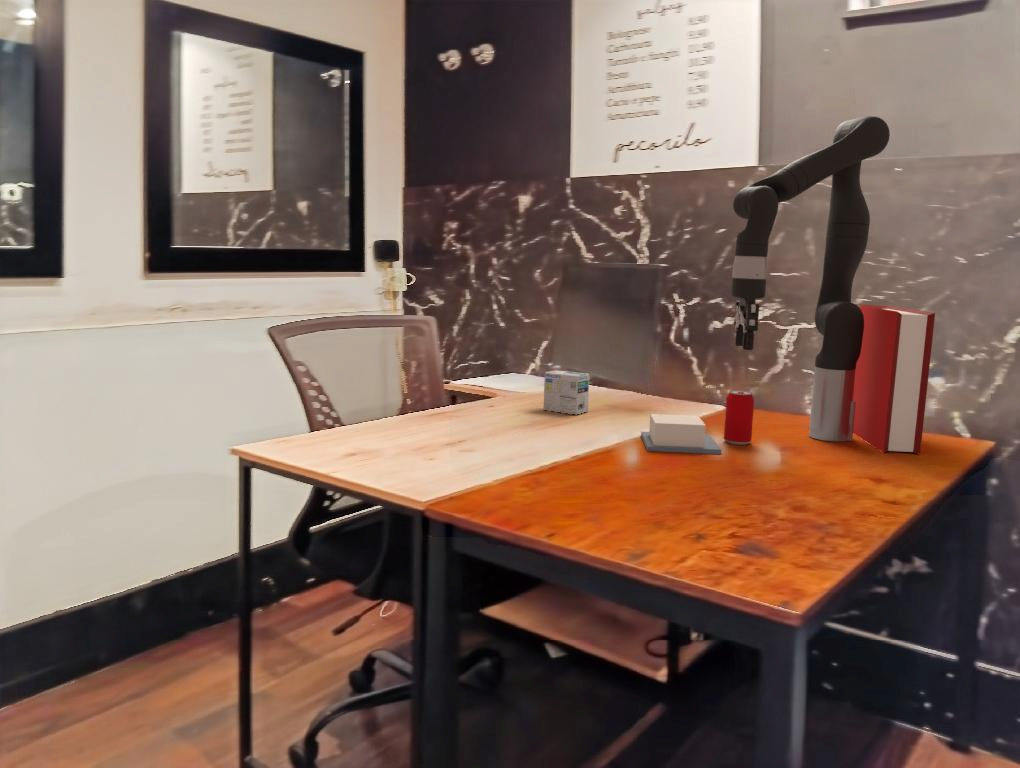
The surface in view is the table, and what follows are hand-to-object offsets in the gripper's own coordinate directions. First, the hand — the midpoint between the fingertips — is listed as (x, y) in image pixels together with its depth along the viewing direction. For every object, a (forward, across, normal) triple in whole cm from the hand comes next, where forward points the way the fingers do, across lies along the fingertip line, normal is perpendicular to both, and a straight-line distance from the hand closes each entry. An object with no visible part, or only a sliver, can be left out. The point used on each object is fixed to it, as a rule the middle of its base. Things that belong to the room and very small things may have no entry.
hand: (743, 347), depth 193 cm
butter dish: (+22, -5, +14) cm, 27 cm away
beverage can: (+22, 0, 0) cm, 22 cm away
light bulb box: (+23, +31, +40) cm, 55 cm away
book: (+22, +9, -36) cm, 43 cm away
